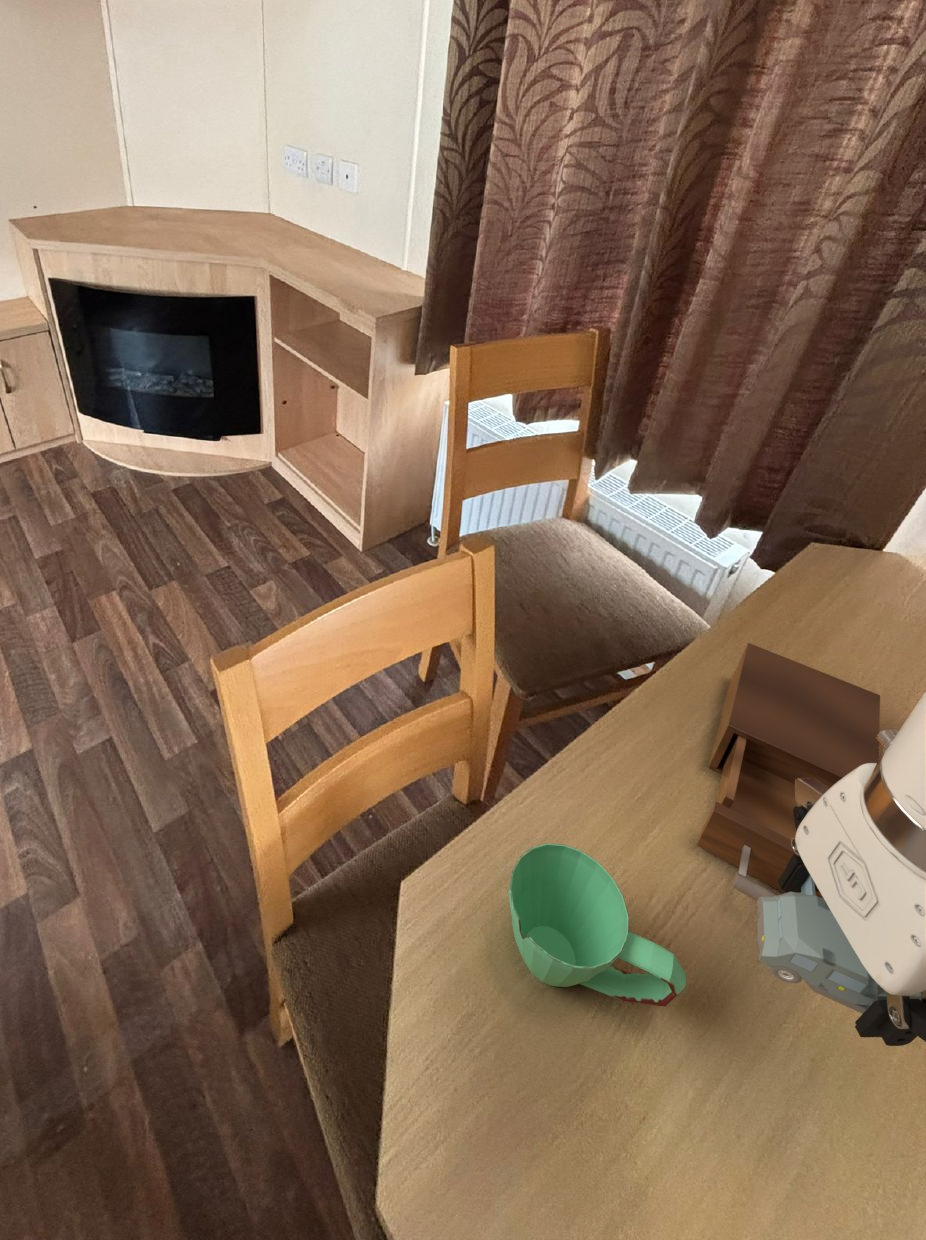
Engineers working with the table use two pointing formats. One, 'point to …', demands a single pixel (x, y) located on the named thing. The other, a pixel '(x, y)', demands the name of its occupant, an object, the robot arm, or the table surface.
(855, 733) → the cabinet
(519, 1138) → the table surface
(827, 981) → the toy car
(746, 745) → the drawer
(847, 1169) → the table surface
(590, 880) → the mug
